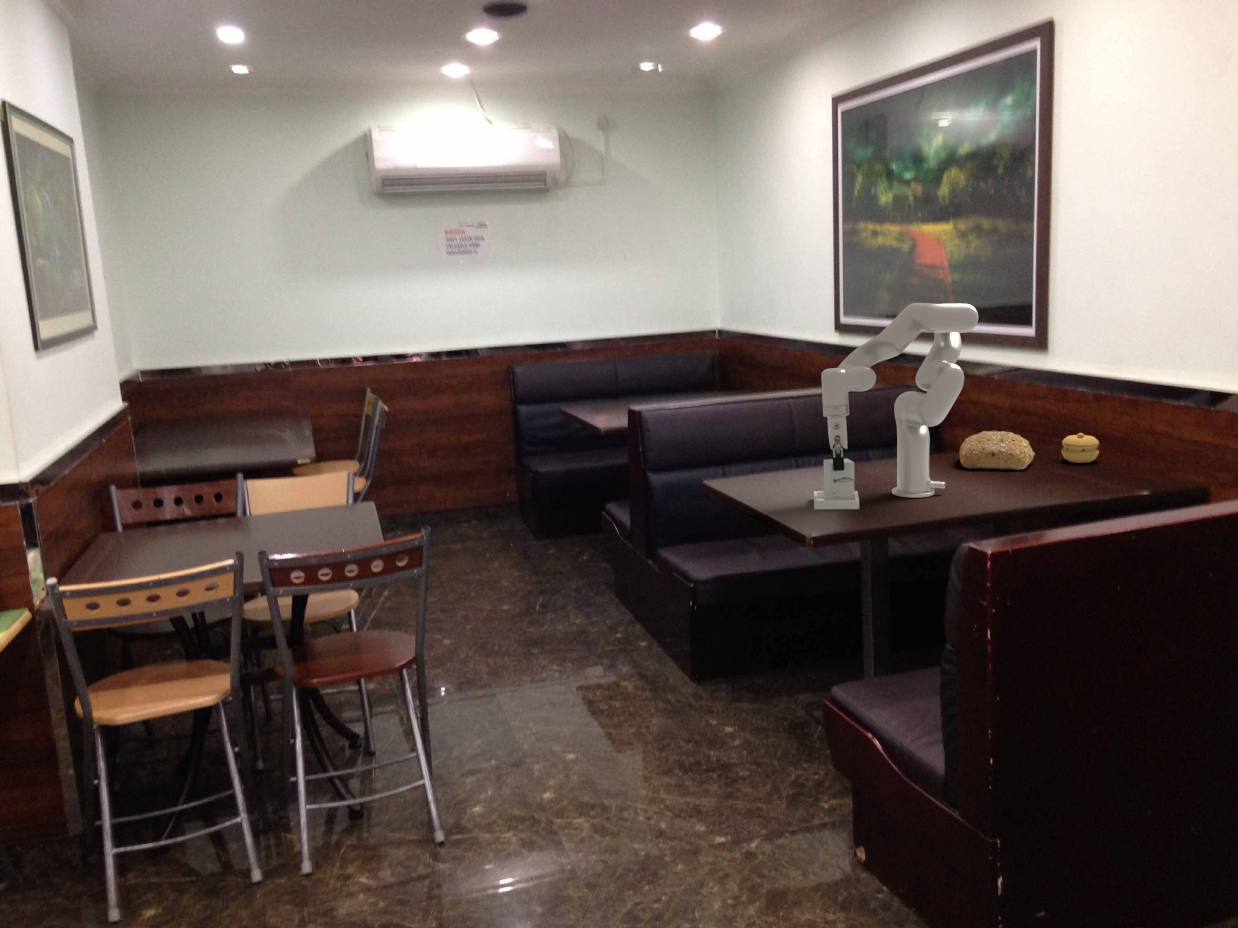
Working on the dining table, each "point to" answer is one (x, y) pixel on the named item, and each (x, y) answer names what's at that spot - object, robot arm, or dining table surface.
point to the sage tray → (834, 502)
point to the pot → (1080, 448)
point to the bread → (996, 451)
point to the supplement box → (839, 481)
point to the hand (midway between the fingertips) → (838, 466)
